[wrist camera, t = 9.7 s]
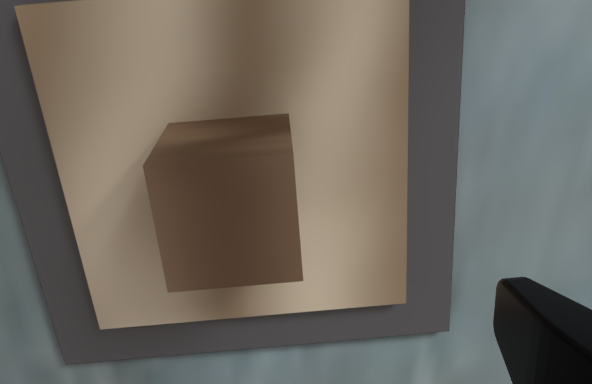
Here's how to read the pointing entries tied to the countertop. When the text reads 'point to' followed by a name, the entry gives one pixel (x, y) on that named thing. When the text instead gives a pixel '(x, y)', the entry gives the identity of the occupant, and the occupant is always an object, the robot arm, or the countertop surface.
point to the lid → (228, 152)
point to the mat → (257, 329)
